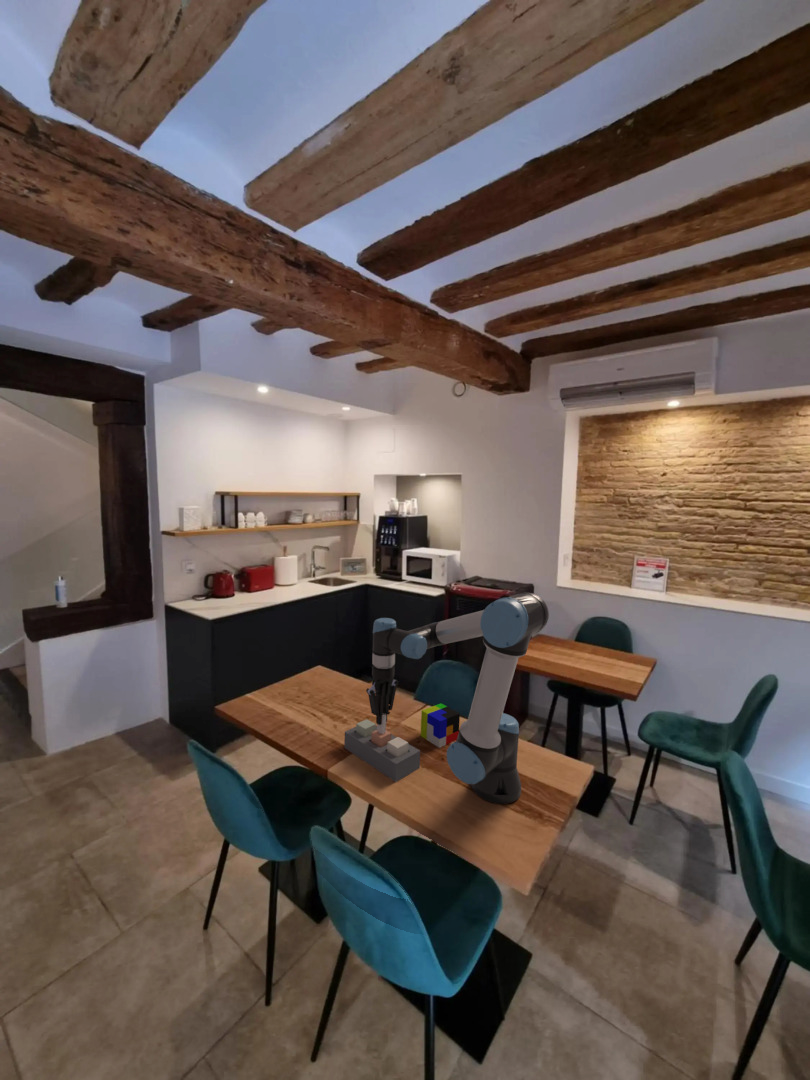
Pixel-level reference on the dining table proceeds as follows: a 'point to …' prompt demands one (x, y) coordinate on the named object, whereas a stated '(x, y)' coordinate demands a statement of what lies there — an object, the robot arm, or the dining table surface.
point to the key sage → (365, 728)
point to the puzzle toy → (440, 725)
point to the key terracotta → (380, 738)
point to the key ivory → (397, 747)
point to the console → (382, 756)
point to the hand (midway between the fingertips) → (381, 732)
